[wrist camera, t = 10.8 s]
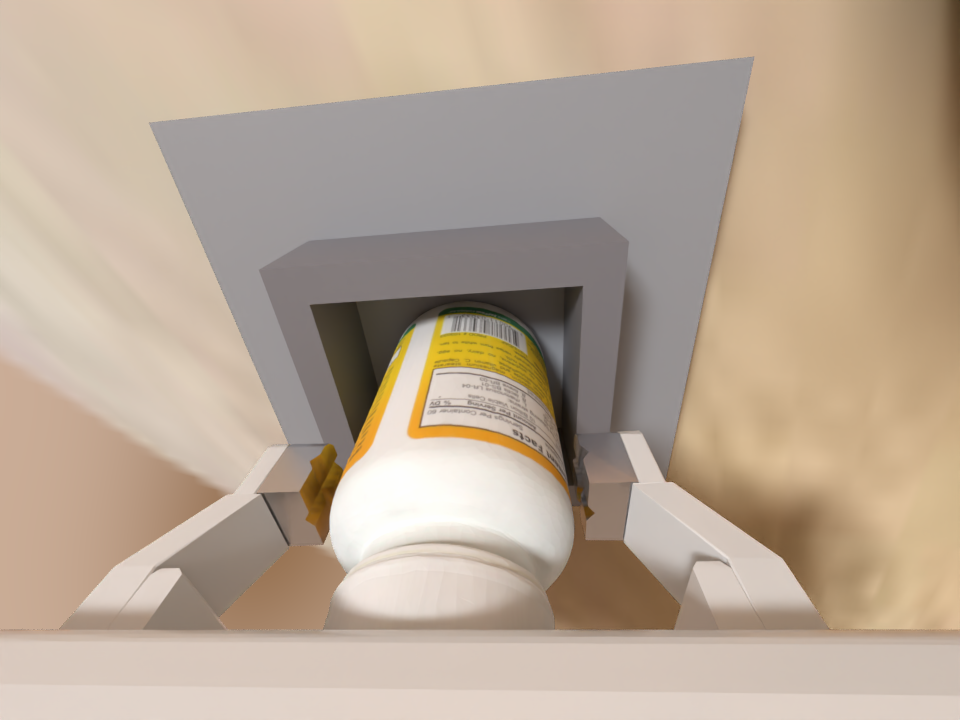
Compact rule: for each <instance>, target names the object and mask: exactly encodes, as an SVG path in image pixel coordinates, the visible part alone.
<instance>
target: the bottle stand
mask: <svg viewBox="0 0 960 720" xmlns="http://www.w3.org/2000/svg"><path fill="white" fill-rule="evenodd" d="M753 61H754V57H747V58H738V59H728V60H719V61H710V62H701V63H692V64H683V65H673V66H664V67H655V68H646V69H637V70H628V71H619V72H609V73H600V74H591V75H582V76H573V77H564V78H554V79H545V80H536V81H527V82H518V83H509V84H500V85H490V86H481V87H472V88H463V89H454V90H445V91H435V92H426V93H417V94H408V95H399V96H390V97H380V98H371V99H362V100H353V101H344V102H335V103H326V104H316V105H307V106H298V107H289V108H280V109H271V110H261V111H252V112H243V113H234V114H225V115H216V116H207V117H197V118H188V119H179V120H170V121H161V122H152V123H149V124H150V126H151V129H152V131H153V133H154V135H155V138H156V140H157V142H158V145H159V147H160V149H161V152H162V154H163V156H164V158H165V161H166V163H167V165H168V168H169V170H170V172H171V175H172V177H173V179H174V181H175V184H176V186H177V188H178V191H179V193H180V195H181V198H182V200H183V202H184V204H185V207H186V209H187V211H188V214H189V216H190V218H191V221H192V223H193V225H194V227H195V230H196V232H197V234H198V237H199V239H200V241H201V244H202V246H203V248H204V250H205V253H206V255H207V257H208V260H209V262H210V264H211V267H212V269H213V271H214V273H215V276H216V278H217V280H218V283H219V285H220V287H221V290H222V292H223V294H224V296H225V299H226V301H227V303H228V306H229V308H230V310H231V313H232V315H233V317H234V319H235V322H236V324H237V326H238V329H239V331H240V333H241V336H242V338H243V340H244V343H245V345H246V347H247V349H248V352H249V354H250V356H251V359H252V361H253V363H254V366H255V368H256V370H257V372H258V375H259V377H260V379H261V382H262V384H263V386H264V389H265V391H266V393H267V395H268V398H269V400H270V402H271V405H272V407H273V409H274V412H275V414H276V416H277V418H278V421H279V423H280V425H281V428H282V430H283V432H284V435H285V437H286V439H287V441H288V444H290V445H291V444H326V443H329V444H332V445H334V448H335V450H336V452H337V457H336V459H335V461H334V462H335V463H336V464H338V465H339V466H340V467H342V469H343V471H344V468H345V466H346V464H347V462H348V459H349V457H350V455H351V453H352V451H353V449H354V446H355V444H356V441H357V439H358V437H359V434H360V432H361V430H362V427H363V425H364V423H365V421H366V418H367V416H368V414H369V411H370V409H371V407H372V404H373V402H374V399H375V397H376V395H377V392H378V390H379V388H380V385H381V383H382V381H383V378H384V376H385V373H386V371H387V368H388V366H389V363H390V361H391V359H392V356H393V354H394V352H395V349H396V347H397V345H398V343H399V341H400V339H401V337H402V335H403V334H404V332H405V330H406V329H407V328H408V327H409V325H410V324H411V323H412V322H413V321H414V320H416V319H417V318H418V317H420V316H421V315H422V314H424V313H425V312H427V311H429V310H431V309H433V308H436V307H438V306H441V305H444V304H448V303H453V302H460V301H472V302H481V303H487V304H490V305H493V306H496V307H499V308H501V309H503V310H505V311H507V312H509V313H511V314H513V315H514V316H515V317H517V318H518V319H519V320H521V321H522V322H523V323H524V324H525V325H526V326H527V327H528V328H529V329H530V330H531V332H532V333H533V334H534V336H535V338H536V339H537V341H538V343H539V345H540V347H541V350H542V353H543V357H544V361H545V365H546V371H547V377H548V383H549V389H550V394H551V399H552V405H553V410H554V416H555V421H556V426H557V431H558V434H559V440H560V445H561V450H562V456H563V461H564V466H565V471H566V476H567V482H568V488H569V493H570V498H571V504H572V506H580V502H579V501H578V500H577V499H576V494H575V488H574V481H573V460H574V459H575V458H576V455H575V450H574V436H575V434H585V433H607V432H620V431H637V430H639V431H640V432H641V433H642V434H643V436H644V438H645V440H646V442H647V444H648V446H649V448H650V450H651V452H652V455H653V457H654V459H655V461H656V463H657V465H658V467H659V469H660V471H661V473H662V475H663V477H664V479H665V481H666V476H667V471H668V467H669V462H670V457H671V452H672V448H673V443H674V438H675V433H676V428H677V424H678V419H679V414H680V409H681V405H682V400H683V395H684V390H685V385H686V381H687V376H688V371H689V366H690V362H691V357H692V352H693V347H694V342H695V338H696V333H697V328H698V323H699V319H700V314H701V309H702V304H703V299H704V295H705V290H706V285H707V280H708V276H709V271H710V266H711V261H712V256H713V252H714V247H715V242H716V237H717V233H718V228H719V223H720V218H721V213H722V209H723V204H724V199H725V194H726V190H727V185H728V180H729V175H730V170H731V166H732V161H733V156H734V151H735V147H736V142H737V137H738V132H739V127H740V123H741V118H742V113H743V108H744V104H745V99H746V94H747V89H748V84H749V80H750V75H751V70H752V65H753Z"/></svg>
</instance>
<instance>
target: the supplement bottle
mask: <svg viewBox="0 0 960 720" xmlns="http://www.w3.org/2000/svg"><path fill="white" fill-rule="evenodd" d="M330 536H331V541H332V546H333V548H334V551H335V554H336V556H337V559H338V560H339V562H340V564H341V566H342V567H343V569H344V570H345V571H346V573H347V575H346V577H345V578H344V580H343V582H342V583H341V584H340V585H339V586H338V587H337V589H336V590H335V592H334V594H333V596H332V598H331V602H330V607H329V612H328V615H327V618H326V622H325V625H324V628H323V630H555V621H554V615H553V611H552V608H551V606H550V603H549V601H548V596H547V594H546V592H545V591H546V590H547V589H548V588H549V587H550V586H551V585H552V584H553V583H554V582H555V581H556V579H557V578H558V577H559V576H560V574H561V573H562V571H563V569H564V568H565V566H566V564H567V562H568V559H569V557H570V554H571V551H572V547H573V542H574V516H573V510H572V504H571V498H570V493H569V488H568V482H567V476H566V471H565V466H564V461H563V456H562V450H561V445H560V440H559V434H558V431H557V426H556V421H555V416H554V410H553V405H552V399H551V394H550V389H549V383H548V377H547V371H546V365H545V361H544V357H543V353H542V350H541V347H540V345H539V343H538V341H537V339H536V338H535V336H534V334H533V333H532V332H531V330H530V329H529V328H528V327H527V326H526V325H525V324H524V323H523V322H522V321H521V320H519V319H518V318H517V317H515V316H514V315H513V314H511V313H509V312H507V311H505V310H503V309H501V308H499V307H496V306H493V305H490V304H487V303H481V302H472V301H460V302H453V303H448V304H444V305H441V306H438V307H436V308H433V309H431V310H429V311H427V312H425V313H424V314H422V315H421V316H420V317H418V318H417V319H416V320H414V321H413V322H412V323H411V324H410V325H409V327H408V328H407V329H406V330H405V332H404V334H403V335H402V337H401V339H400V341H399V343H398V345H397V347H396V349H395V352H394V354H393V356H392V359H391V361H390V363H389V366H388V368H387V371H386V373H385V376H384V378H383V381H382V383H381V385H380V388H379V390H378V392H377V395H376V397H375V399H374V402H373V404H372V407H371V409H370V411H369V414H368V416H367V418H366V421H365V423H364V425H363V427H362V430H361V432H360V434H359V437H358V439H357V441H356V444H355V446H354V449H353V451H352V453H351V455H350V457H349V459H348V462H347V464H346V466H345V468H344V471H343V474H342V477H341V479H340V482H339V484H338V487H337V490H336V492H335V495H334V498H333V502H332V506H331V511H330Z"/></svg>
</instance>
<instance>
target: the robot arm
mask: <svg viewBox="0 0 960 720" xmlns="http://www.w3.org/2000/svg"><path fill="white" fill-rule="evenodd" d="M574 450H575V455H576V458H575V459H574V460H573V481H574V488H575V494H576V499H577V500H578V501H579V502H580V518H581V522H582V527H583V531H584V536H585V540H624V543H625V544H626V545H627V547H628V548H629V549H630V550H631V551H632V552H633V553H634V554H635V555H636V557H637V558H638V559H639V560H640V561H641V562H642V563H643V564H644V565H645V566H646V568H647V569H648V570H649V571H650V572H651V573H652V574H653V575H654V576H655V578H656V579H657V580H658V581H659V582H660V583H661V584H662V585H663V586H664V588H665V589H666V590H667V591H668V592H669V593H670V594H671V595H672V596H673V597H674V599H675V600H676V601H677V602H678V603H679V604H680V605H681V608H680V611H679V614H678V617H677V621H676V624H675V627H674V630H228V629H227V628H226V627H225V625H224V624H223V623H222V621H221V620H220V619H219V617H220V616H221V615H222V614H223V613H224V612H225V611H226V610H227V609H228V608H229V607H230V606H231V605H232V604H233V603H234V602H235V601H236V600H237V599H238V598H239V597H240V596H241V595H242V594H243V593H244V592H245V591H246V590H247V589H248V588H249V587H250V586H251V585H252V584H253V583H254V582H255V581H256V580H257V579H258V578H260V577H261V576H262V575H263V573H264V572H266V570H267V569H269V568H270V567H271V566H272V565H273V564H274V563H275V562H276V561H277V560H278V559H279V558H280V557H281V556H282V555H283V554H284V553H285V552H286V551H287V550H288V549H289V546H305V545H323V544H324V542H325V540H326V537H327V535H328V533H329V530H330V511H331V506H332V502H333V498H334V495H335V492H336V490H337V487H338V484H339V482H340V479H341V477H342V474H343V469H342V467H340V466H339V465H338V464H336V463H335V462H334V461H335V459H336V457H337V452H336V450H335V448H334V445H332V444H329V443H326V444H291V445H290V444H284V445H272V446H270V447H268V448H267V449H266V451H265V452H264V453H263V455H262V456H261V457H260V459H259V460H258V462H257V463H256V464H255V466H254V467H253V468H252V470H251V471H250V472H249V474H248V475H247V476H246V478H245V479H244V480H243V482H242V483H241V485H240V486H239V487H238V489H237V490H236V491H235V493H234V494H233V495H226V496H224V497H223V498H221V499H220V500H218V501H216V502H215V503H213V504H212V505H210V506H209V507H207V508H206V509H204V510H203V511H201V512H199V513H198V514H196V515H195V516H193V517H191V518H190V519H188V520H187V521H185V522H184V523H182V524H180V525H179V526H177V527H176V528H174V529H173V530H171V531H170V532H168V533H167V534H165V535H163V536H162V537H160V538H159V539H157V540H155V541H154V542H153V543H151V544H149V545H148V546H146V547H145V548H143V549H141V550H140V551H138V552H137V553H135V554H134V555H132V556H130V557H129V558H127V559H126V560H124V561H123V562H121V563H119V564H118V565H117V566H115V567H114V568H113V569H112V570H111V571H110V572H109V573H108V574H107V575H106V577H105V578H104V579H103V580H102V581H101V582H100V583H99V584H98V586H97V587H96V588H95V589H94V590H93V591H92V592H91V593H90V595H89V596H88V597H87V598H86V599H85V600H84V601H83V602H82V604H81V605H80V606H79V607H78V608H77V609H76V611H74V613H73V614H72V615H71V616H70V617H69V619H67V621H66V622H65V623H64V624H63V625H62V626H61V627H60V628H59V630H0V720H960V630H830V629H829V628H828V626H827V625H826V623H825V622H824V620H823V619H822V617H821V616H820V614H819V613H818V611H817V610H816V608H815V607H814V605H813V604H812V602H811V601H810V599H809V598H808V596H807V595H806V593H805V592H804V590H803V589H802V587H801V586H800V584H799V583H798V581H797V580H796V578H795V577H794V575H793V574H792V572H791V571H790V569H789V567H788V566H787V564H786V563H785V561H784V560H783V559H782V558H781V557H779V556H778V555H777V554H775V553H774V552H772V551H771V550H769V549H768V548H766V547H765V546H764V545H762V544H761V543H759V542H758V541H756V540H755V539H754V538H752V537H751V536H749V535H748V534H746V533H745V532H744V531H742V530H741V529H739V528H738V527H736V526H735V525H734V524H732V523H731V522H729V521H728V520H726V519H725V518H723V517H722V516H721V515H719V514H718V513H716V512H715V511H713V510H712V509H711V508H709V507H708V506H706V505H705V504H703V503H702V502H701V501H699V500H698V499H696V498H695V497H693V496H692V495H691V494H689V493H688V492H686V491H685V490H683V489H682V488H681V487H679V486H678V485H676V484H675V483H673V482H666V481H665V479H664V477H663V475H662V473H661V471H660V469H659V467H658V465H657V463H656V461H655V459H654V457H653V455H652V452H651V450H650V448H649V446H648V444H647V442H646V440H645V438H644V436H643V434H642V433H641V432H640V431H639V430H637V431H620V432H607V433H585V434H575V436H574Z"/></svg>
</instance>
